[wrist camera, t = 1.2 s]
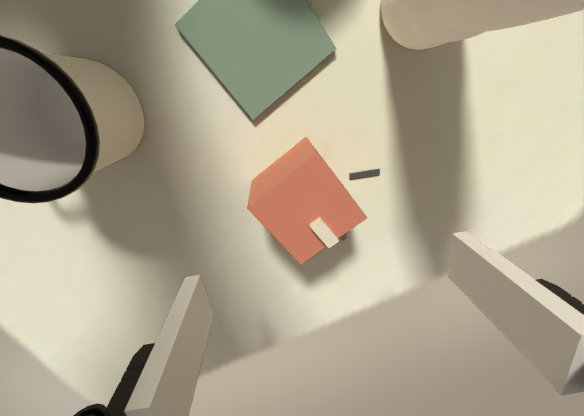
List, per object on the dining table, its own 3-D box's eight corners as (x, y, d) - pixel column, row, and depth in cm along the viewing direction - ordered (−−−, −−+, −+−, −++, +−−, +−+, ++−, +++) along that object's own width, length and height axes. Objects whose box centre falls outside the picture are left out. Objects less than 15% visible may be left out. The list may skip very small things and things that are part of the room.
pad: (176, 26, 22) (174, 24, 22) (264, -62, 21) (264, -67, 20) (253, 119, 26) (252, 120, 25) (334, 49, 24) (336, 48, 23)
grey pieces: (276, 182, 28) (278, 196, 24) (349, 125, 26) (362, 131, 23) (332, 247, 31) (341, 268, 28) (400, 199, 30) (418, 215, 26)
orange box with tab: (252, 180, 28) (246, 211, 21) (306, 136, 27) (319, 154, 20) (294, 226, 30) (301, 268, 23) (345, 188, 29) (369, 221, 22)
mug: (109, 30, 22) (13, -4, 14) (172, 144, 26) (127, 170, 18) (-21, 91, 23) (-183, 93, 15) (58, 192, 27) (-36, 239, 19)
